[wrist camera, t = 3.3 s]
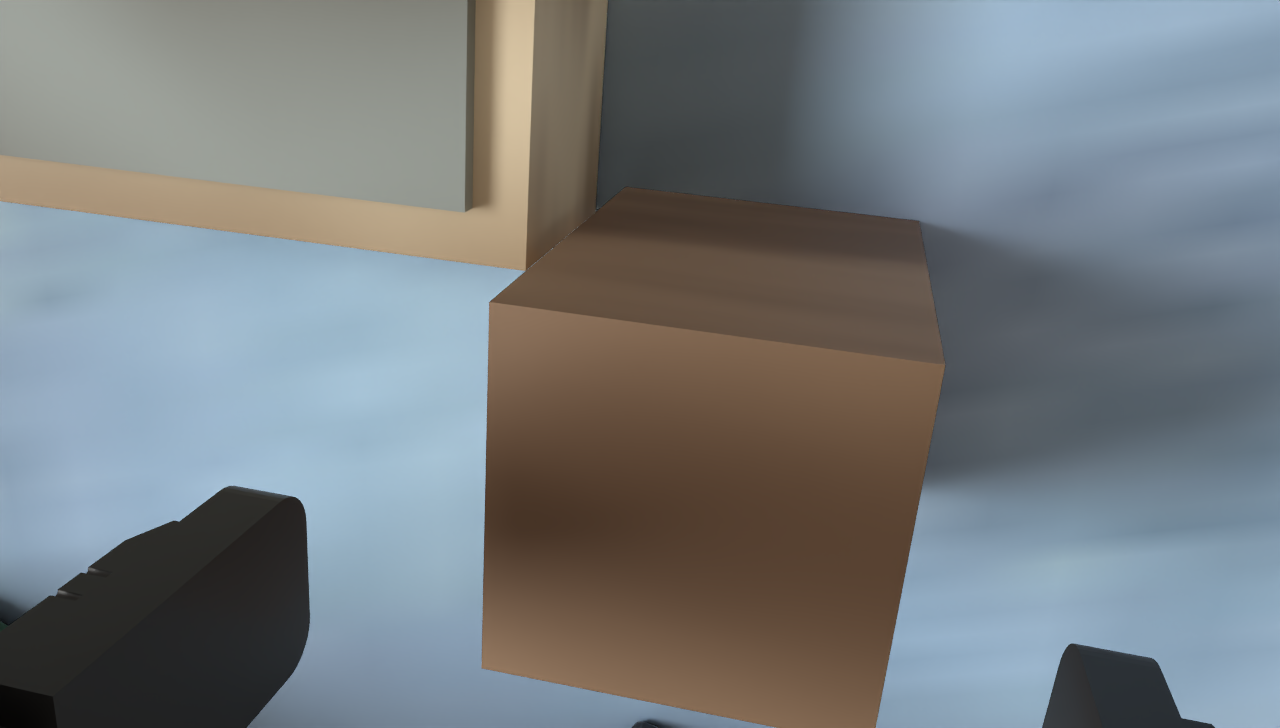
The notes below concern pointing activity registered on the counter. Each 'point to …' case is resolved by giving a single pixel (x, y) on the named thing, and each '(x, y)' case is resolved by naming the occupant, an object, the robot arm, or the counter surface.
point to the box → (643, 725)
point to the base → (312, 118)
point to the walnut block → (710, 456)
